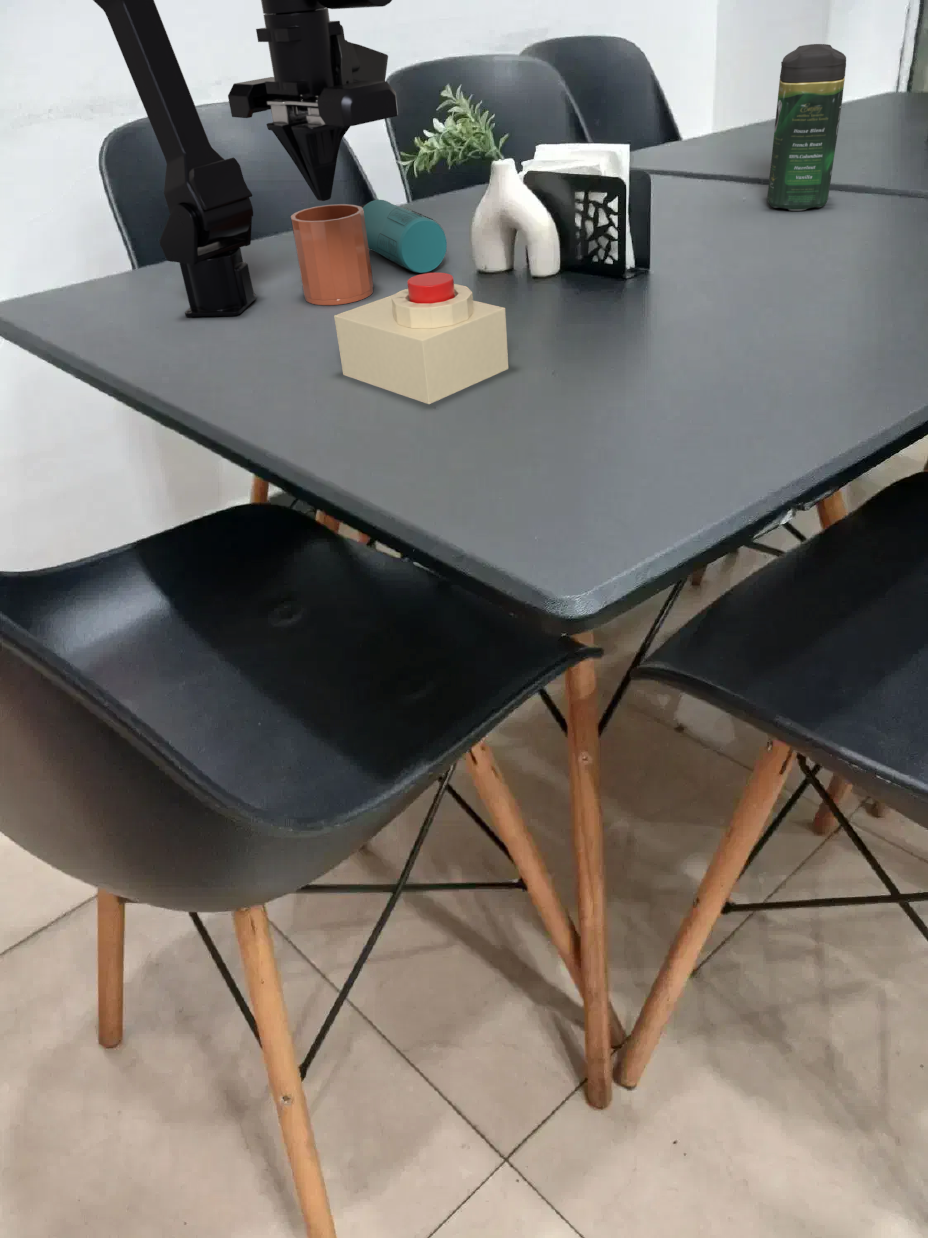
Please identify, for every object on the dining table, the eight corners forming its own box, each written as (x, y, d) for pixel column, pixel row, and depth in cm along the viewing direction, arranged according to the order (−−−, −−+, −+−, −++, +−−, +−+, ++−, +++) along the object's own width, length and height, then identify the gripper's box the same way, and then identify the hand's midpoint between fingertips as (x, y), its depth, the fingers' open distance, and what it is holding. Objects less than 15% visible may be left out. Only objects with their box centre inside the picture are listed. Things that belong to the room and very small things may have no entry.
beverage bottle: (430, 207, 111) (365, 180, 126) (392, 252, 112) (332, 220, 127) (464, 247, 116) (397, 216, 131) (428, 290, 116) (365, 254, 131)
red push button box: (343, 375, 91) (330, 295, 87) (421, 344, 97) (413, 267, 92) (429, 405, 84) (420, 319, 80) (508, 369, 89) (504, 287, 85)
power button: (400, 301, 85) (397, 281, 84) (433, 289, 87) (431, 269, 86) (430, 309, 83) (428, 288, 82) (464, 296, 85) (462, 276, 84)
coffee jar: (830, 211, 126) (852, 46, 115) (766, 213, 128) (782, 50, 117) (826, 194, 134) (846, 38, 123) (766, 196, 136) (781, 42, 125)
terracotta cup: (296, 306, 110) (281, 223, 105) (315, 285, 117) (302, 205, 112) (364, 304, 109) (352, 219, 104) (380, 282, 116) (370, 202, 110)
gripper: (434, -2, 84) (450, 191, 93) (306, 4, 96) (331, 175, 105) (333, 13, 78) (360, 217, 87) (209, 16, 90) (244, 197, 99)
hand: (324, 199), depth 94 cm, fingers closed
